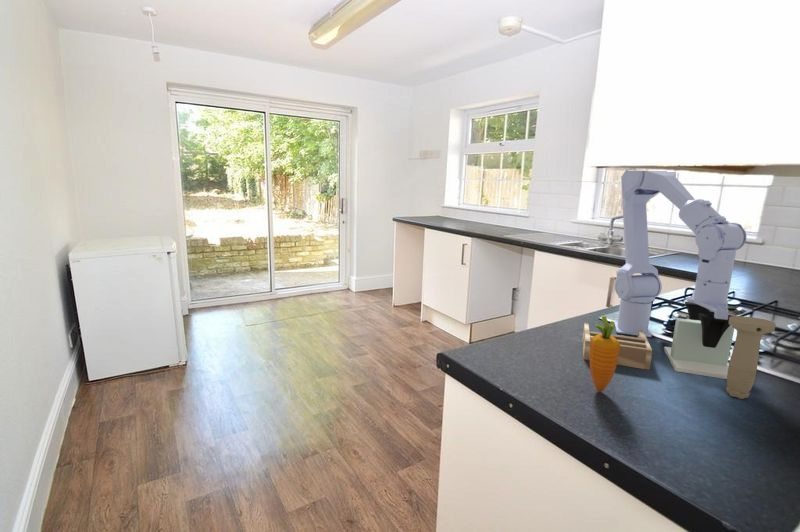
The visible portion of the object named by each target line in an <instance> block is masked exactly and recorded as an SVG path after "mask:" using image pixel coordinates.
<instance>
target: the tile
mask: <svg viewBox="0 0 800 532" xmlns="http://www.w3.org/2000/svg"><path fill="white" fill-rule="evenodd" d="M671 348H672V346H671V347H670V346H666V345H665V346H664V347H663V351H664V353H665V354H666V356H667V358H668V359H669V362H670V364H671V366H672V367H673V369H674V371H675V372H679V373H686V374H692V375H699V376H703V377H704V376H705V377H710V378H711V377H713V378H718V379H723V380H724V379H725V380H727V374H728V366H729V363H728V364H727V366H723V365H715V364H707V363H700V362H692V361H685V360H677V359H673V358H672V357H671V356H670V354H671Z"/></svg>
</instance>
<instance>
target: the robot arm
mask: <svg viewBox="0 0 800 532" xmlns="http://www.w3.org/2000/svg"><path fill="white" fill-rule="evenodd" d="M620 180H621V196H622V197H621V198H622V200H621V203H622V220H623V237H624V238H623V239H624V256H625V264H623V265H622V266H621V267H619V269H618V270H617V271H616V279H615V282H614V291H615V293H616V295H617V296H618V299H620V300H619V301H620V302H619V309H618V316H617V317H618V318H617V320H613V322H614V323H615V324H614V329H615V331H616V333H617V334H624V335H629V336H630V335H631V336H636V337H638V330H642V331H644V333H645V336H646V338H651V337H652V334H651V331H650V330H649V324H650V316H651V310H652V304H653V302H655V298H657V297H659V296H660V294H661V293H662V289H663V285H662V281H661V280H660V277H659V270H658V268H656V267H655V266H654V265H653V264H651V263H650V252H649V250H650V248H649V233H648V232H649V231H648V218H647V217H648V215H647V214H648V213H647V203H648V202H649V201H650V200H652V199H653V198H654V197H656V196H658V195H659V194H660V193H661V195H663V196H664V197H665V198H666V199H667V200H668V201H669V202H671V203H672V204H673V205H674V206H676V208H678V210H679V212H678V217H679V220H681V221H682V222H683V223H684V224H685V225H686V226H687V227H688V229H689V230H691V232H692V233H694V235H695V237H694V238H695V239H694V240H695V244H696V245H697V249H698V252H697V255H698V257H699V260H698V261H699V262H698V267H697V273H696V279H695V285H694V290H692V294H691V296H687V297H686V301H684V304H685V307H686V309H687V314H688V319H690V320H699V321H701V325H702V344H703V346H704V347H711V348H716V346H717V344H718V342H719V341H720V339H721V337H722V335H723V334H724V332H725V331H726V330H727V328H728V327H730V325H729V317H730V316H729V314H730V310H729V309H728V304H729V302H728V296H729V293H730V286H731V281H732V275H733V270H734V264H735V260H736V254H737V251H738V250H740V249H742V247H743V246H745V244H746V241H747V232H746V230H745V229H744V227H743V226H742V224H740V223H736V222H730V221H728V220H727V218H726V217H725V215H721V214H720V213H719V212H718V211H717V210H715V208H713V206H712V205H713V204H712V202H711V201H710V200H705V199H702V198H698V199H695V197H694V196H693V195H692V194H691V193H690V192H689V191H688V189H686V187H685V186H684V185H683V184H682V183H681V181H680V180H679V179H678V178H677V172H667V171H628V170H626V169H625V171H624V172H623V173H622V175H621V177H620ZM635 274H636V275H635Z"/></svg>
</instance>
